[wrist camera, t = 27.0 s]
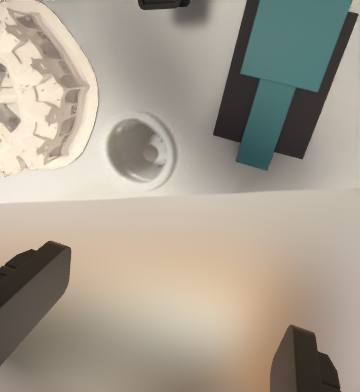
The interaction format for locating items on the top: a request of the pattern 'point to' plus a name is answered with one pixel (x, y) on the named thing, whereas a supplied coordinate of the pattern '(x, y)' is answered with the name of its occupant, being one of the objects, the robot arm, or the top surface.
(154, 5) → the black layered block
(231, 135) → the desk mat
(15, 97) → the castle model
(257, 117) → the teal paddle
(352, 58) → the top surface
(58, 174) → the top surface
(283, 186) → the top surface
